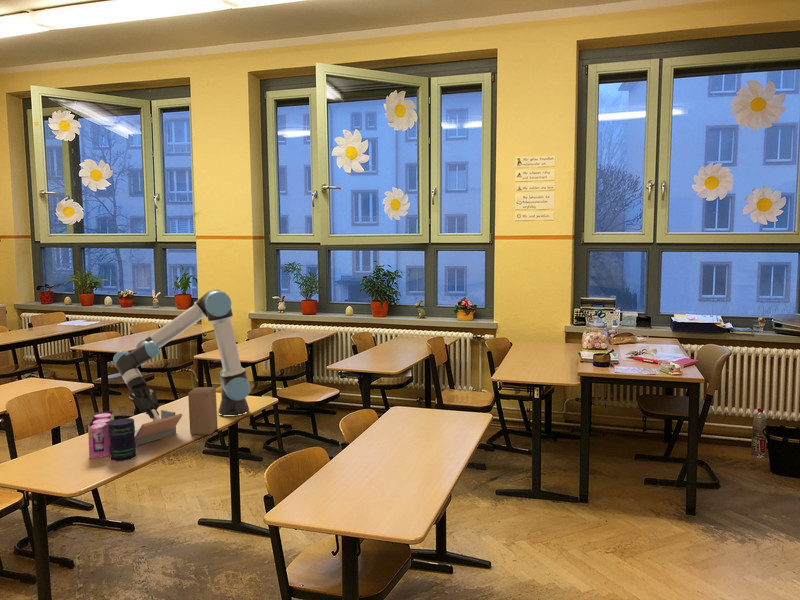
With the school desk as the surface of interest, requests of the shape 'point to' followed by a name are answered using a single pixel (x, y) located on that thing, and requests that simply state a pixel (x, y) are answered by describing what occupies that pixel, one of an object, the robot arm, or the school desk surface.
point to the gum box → (99, 434)
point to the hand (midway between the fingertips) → (158, 423)
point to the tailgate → (158, 426)
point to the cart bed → (161, 434)
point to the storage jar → (122, 439)
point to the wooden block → (202, 410)
